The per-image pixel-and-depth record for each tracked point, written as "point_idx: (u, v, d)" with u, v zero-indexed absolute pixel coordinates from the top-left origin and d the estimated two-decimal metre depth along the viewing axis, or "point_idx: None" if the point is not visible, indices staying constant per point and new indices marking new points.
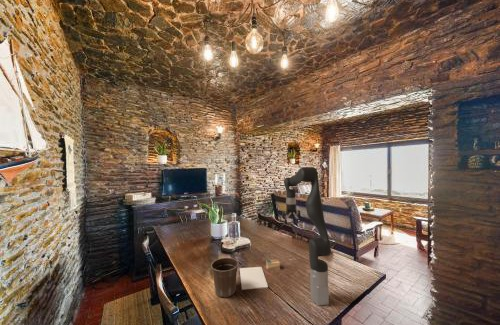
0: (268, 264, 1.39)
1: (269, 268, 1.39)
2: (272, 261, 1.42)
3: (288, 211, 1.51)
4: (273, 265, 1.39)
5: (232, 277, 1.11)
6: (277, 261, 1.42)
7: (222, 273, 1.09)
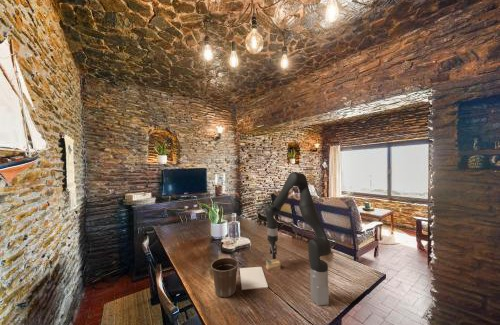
0: (269, 264, 1.39)
1: (270, 268, 1.39)
2: (272, 261, 1.42)
3: None
4: (274, 265, 1.39)
5: (232, 277, 1.11)
6: (277, 261, 1.42)
7: (222, 273, 1.09)
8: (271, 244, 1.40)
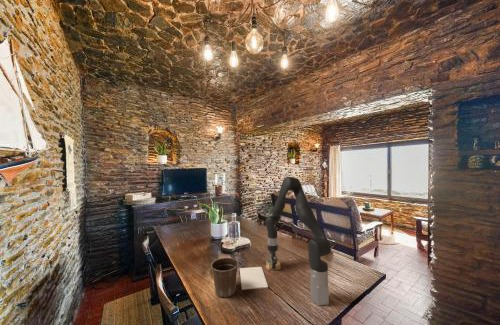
0: (269, 264, 1.39)
1: (270, 268, 1.39)
2: None
3: None
4: None
5: (232, 277, 1.11)
6: (277, 260, 1.42)
7: (222, 273, 1.09)
8: (271, 254, 1.40)
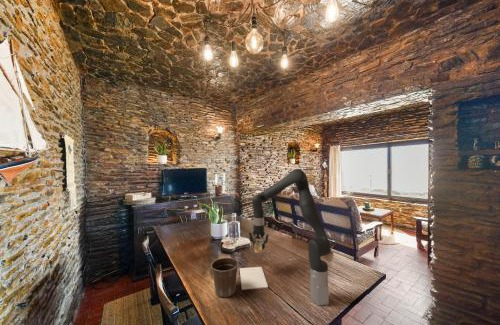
0: (261, 245, 1.30)
1: (262, 249, 1.31)
2: (258, 242, 1.34)
3: None
4: None
5: (232, 277, 1.11)
6: (260, 240, 1.38)
7: (222, 273, 1.09)
8: (260, 234, 1.33)
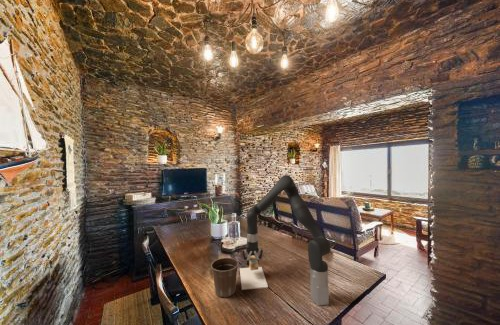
0: None
1: None
2: (252, 259, 1.31)
3: None
4: None
5: (232, 277, 1.11)
6: (251, 256, 1.34)
7: (222, 273, 1.09)
8: (255, 251, 1.30)
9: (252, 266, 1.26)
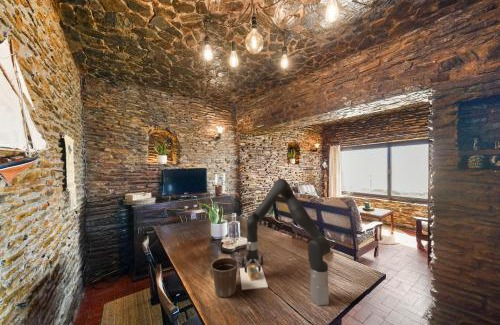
0: None
1: None
2: (252, 269, 1.30)
3: None
4: None
5: (232, 277, 1.11)
6: (252, 266, 1.34)
7: (222, 273, 1.09)
8: (255, 258, 1.29)
9: (252, 276, 1.26)
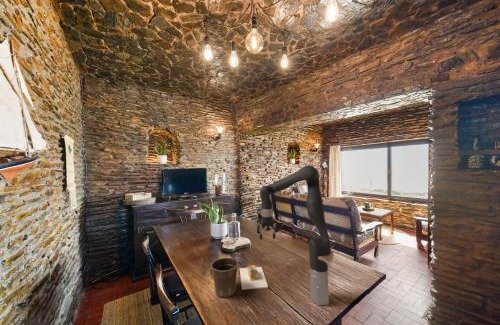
0: None
1: None
2: (252, 269, 1.30)
3: None
4: None
5: (232, 277, 1.11)
6: (252, 266, 1.34)
7: (222, 273, 1.09)
8: (270, 225, 1.32)
9: (252, 276, 1.26)
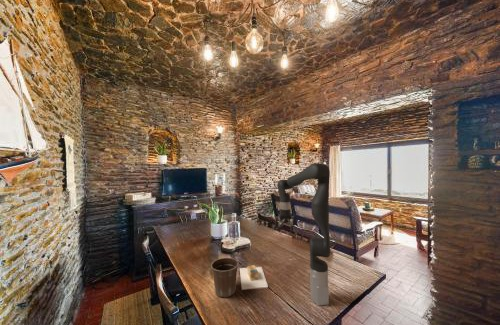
0: None
1: None
2: (252, 269, 1.30)
3: None
4: None
5: (232, 277, 1.11)
6: (252, 266, 1.34)
7: (222, 273, 1.09)
8: (288, 218, 1.36)
9: (252, 276, 1.26)
